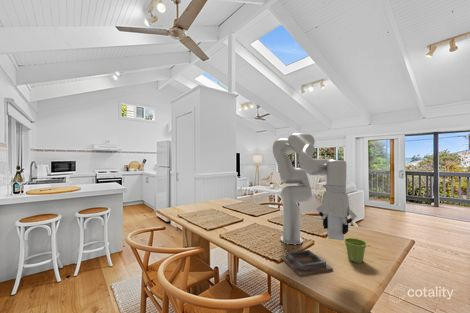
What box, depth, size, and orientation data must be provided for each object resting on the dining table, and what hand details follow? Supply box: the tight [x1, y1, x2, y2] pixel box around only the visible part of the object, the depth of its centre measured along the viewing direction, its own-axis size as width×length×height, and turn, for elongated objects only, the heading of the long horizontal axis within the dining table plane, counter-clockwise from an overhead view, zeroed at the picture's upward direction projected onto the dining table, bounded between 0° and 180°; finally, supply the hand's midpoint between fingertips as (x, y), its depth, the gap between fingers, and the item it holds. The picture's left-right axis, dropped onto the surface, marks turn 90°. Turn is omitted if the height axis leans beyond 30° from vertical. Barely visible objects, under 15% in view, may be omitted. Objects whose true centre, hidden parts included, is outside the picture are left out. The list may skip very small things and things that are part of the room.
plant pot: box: [343, 237, 368, 264], centre depth 100 cm, size 9×9×9 cm
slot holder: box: [280, 249, 334, 277], centre depth 96 cm, size 16×16×3 cm
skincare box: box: [326, 211, 345, 241], centre depth 90 cm, size 6×4×12 cm
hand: (335, 230), depth 90 cm, fingers closed on skincare box, 7 cm apart
